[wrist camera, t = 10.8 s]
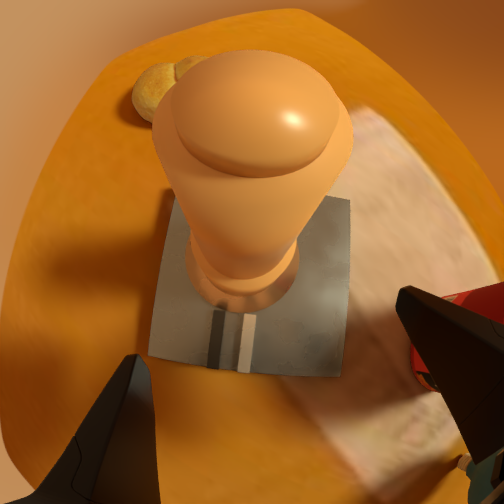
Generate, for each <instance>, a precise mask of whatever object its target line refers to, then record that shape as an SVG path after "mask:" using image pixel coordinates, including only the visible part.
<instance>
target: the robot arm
mask: <svg viewBox="0 0 504 504" xmlns="http://www.w3.org/2000/svg"><path fill="white" fill-rule="evenodd" d="M395 308H396V312H397V314H398V316H399V318H400V320H401V322H402V324H403V326H404V328H405V330H406V332H407V334H408V336H409V338H410V340H411V342H412V344H413V346H414V347H415V349H416V351H417V353H418V354H419V356H420V358H421V359H422V361H423V363H424V364H425V366H426V368H427V370H428V371H429V373H430V375H431V377H432V378H433V380H434V382H435V384H436V386H437V387H438V389H439V391H440V393H441V395H442V397H443V399H444V401H445V402H446V404H447V406H448V408H449V410H450V412H451V414H452V416H453V418H454V420H455V422H456V424H457V426H458V429H459V431H460V433H461V435H462V437H463V440H464V442H465V444H466V446H467V449H468V451H469V453H470V456H471V458H472V460H473V463H474V464H475V465H477V464H479V463H480V462H482V461H483V460H485V459H486V458H488V457H489V456H491V455H492V454H494V453H495V452H497V451H498V450H500V449H501V448H502V447H504V325H503V324H501V323H499V322H496V321H494V320H492V319H488V318H487V317H485V316H483V315H480V314H478V313H476V312H473V311H471V310H469V309H466V308H464V307H462V306H459V305H457V304H454V303H452V302H450V301H447V300H445V299H442V298H440V297H438V296H435V295H433V294H430V293H428V292H425V291H423V290H420V289H418V288H416V287H413V286H410V285H409V286H405V287H403V288H401V289H400V290H399V293H398V297H397V301H396V306H395ZM490 483H491V485H492V487H493V489H494V491H493V492H492V493H491V494H490V495H489V496H487V497H486V498H485V499H484V500H483V501H482V502H481V503H480V504H504V449H503V450H502V451H501V452H500V453H499V454H498V455H497V456H496V458H495V463H494V467H493V472H492V476H491V480H490ZM5 504H161V500H160V492H159V482H158V470H157V456H156V436H155V413H154V404H153V396H152V387H151V378H150V372H149V369H148V367H147V366H146V364H145V363H144V361H143V360H142V358H141V356H140V355H139V354H130V355H127V356H125V358H124V359H123V361H122V362H121V364H120V365H119V367H118V368H117V369H116V371H115V372H114V374H113V375H112V377H111V378H110V380H109V381H108V383H107V384H106V386H105V387H104V389H103V390H102V392H101V394H100V395H99V397H98V398H97V400H96V401H95V403H94V404H93V406H92V407H91V409H90V411H89V412H88V414H87V415H86V417H85V418H84V420H83V422H82V423H81V425H80V426H79V428H78V430H77V431H76V433H75V436H73V438H72V439H71V441H70V443H69V444H68V446H67V447H66V449H65V451H64V452H63V454H62V455H61V457H60V458H59V459H58V461H57V462H56V464H55V465H54V466H53V468H52V469H51V471H50V472H49V473H48V475H47V476H46V477H45V479H44V480H43V481H42V483H41V484H40V485H39V487H38V488H37V489H36V490H35V491H34V492H33V493H32V494H30V495H29V496H27V497H24V498H21V499H18V500H15V501H12V502H9V503H5Z"/></svg>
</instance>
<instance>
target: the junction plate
mask: <svg viewBox="0 0 504 504" xmlns="http://www.w3.org/2000/svg"><path fill="white" fill-rule="evenodd" d="M190 233H191V229H190V226H189V224H188V222H187V220H186V218H185V216H184V213H183V211H182V209H181V207H180V205H179V202H178V200H177V198H176V196H175V200H174V204H173V208H172V213H171V217H170V221H169V226H168V231H167V235H166V240H165V245H164V250H163V255H162V260H161V266H160V271H159V277H158V283H157V289H156V295H155V302H154V308H153V316H152V323H151V331H150V339H149V348H148V356H152V357H157V358H162V359H166V360H171V361H177V362H182V363H188V364H193V365H199V366H206V367H207V368H211V369H227V370H235V371H237V372H242V373H249V372H253V373H263V374H276V375H291V376H315V377H340V374H341V367H342V359H343V351H344V342H345V332H346V321H347V308H348V293H349V272H350V200H347V199H341V198H336V197H331V196H325V197H324V198H323V200H322V201H321V203H320V204H319V206H318V207H317V209H316V210H315V212H314V213H313V215H312V216H311V218H310V219H309V221H308V222H307V224H306V225H305V227H304V228H303V230H302V231H301V232H300V234H299V235H298V237H297V242H296V249H295V253H294V255H293V258H292V260H291V262H290V264H289V265H288V266H287V268H286V269H285V270H284V271H283V273H282V274H281V275H280V276H279V277H278V278H277V279H276V280H275V281H274V283H273V284H272V285H271V286H270V287H268V288H267V289H266V290H264V291H262V292H261V293H258V294H256V295H252V296H246V297H238V296H232V295H229V294H226V293H224V292H222V291H220V290H218V289H217V288H216V287H215V286H214V285H213V284H212V283H211V282H210V281H209V280H208V278H207V277H206V275H205V274H204V272H203V271H202V269H201V268H200V266H199V265H198V263H197V261H196V259H195V257H194V255H193V252H192V248H191V242H190Z"/></svg>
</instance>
